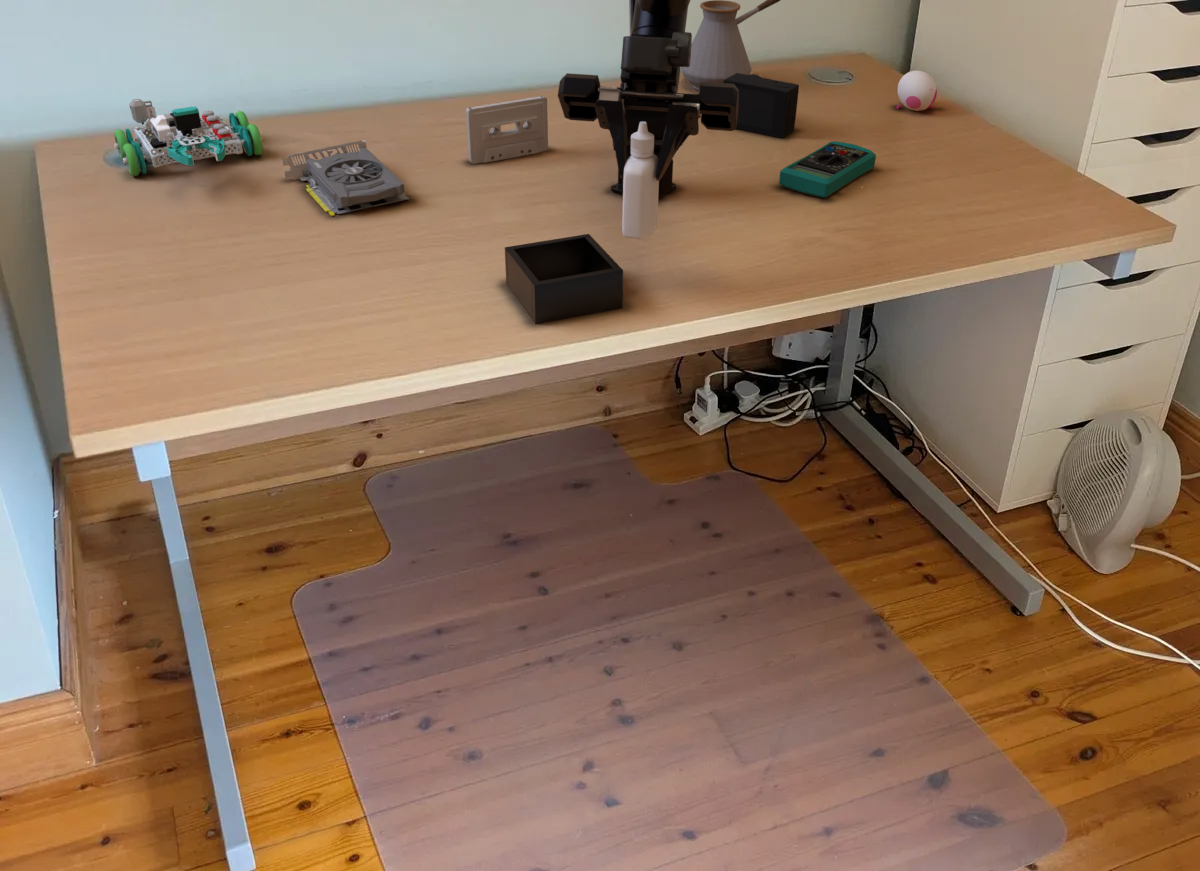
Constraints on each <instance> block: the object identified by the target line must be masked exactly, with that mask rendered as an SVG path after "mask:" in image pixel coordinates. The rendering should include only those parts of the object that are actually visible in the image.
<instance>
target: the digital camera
mask: <svg viewBox="0 0 1200 871" xmlns="http://www.w3.org/2000/svg"><path fill="white" fill-rule="evenodd" d="M724 83H729V84H734V85H735V86H736V88H737V89H738V117H737V126H736V130H741V131H747V132H751V133H756V134H762V135H766V136H770V137H775V138H781V139H784V138H785V137H787V136H789V134H791V133H793V132H794V131H795V126H796V118H797V111H798V110H797V108H798V100H799V90H800V84H798V83H793V82H787V81H782V80H777V79H771V78H767V77H762V76H760V75H759V74H755V73H750V75H745V74H740V73H736V74H734V75H732V76H730V77H728V78H727V79H725V80H724Z"/></svg>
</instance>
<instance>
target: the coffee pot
mask: <svg viewBox="0 0 1200 871" xmlns="http://www.w3.org/2000/svg"><path fill="white" fill-rule="evenodd" d="M780 1H781V0H764V1H763V2H762V3H760V4H758V5H757V6H756V7H754V8H753V9H751V10H749V11H747V12H746V13H744V14H741V15H740V16H738V17H737V15H738V11H739V10H740V9H741V4H740V3H738V2H736V1H731V0H706V1H702V2H701V3H700V5H699V7H700V9H702V15H703V19H702V20H701V22H700V25H699V27H698V29H697V32H696V34H695V36H694V38H693V39H692V44H691V58H690V66H689V67H681V68H680V70H681V72H682V74H683V77H684V78H685V80H686V81H687V82H688V83H689V84H691V87H692V88H694V89H695V90H698V91H700V85H701V82H713V83H724V80H725V79H727V78H728V77H730V76H732V75H734V74H736V73H740V74H745V75H751V74H752V73H751V72H752V66H751V63H750V60H749V56H748V54H747V50H746V47H745V45H744V41H743V38H742V35H741V32H740V29H739V26H738V25H740V24H741V23H743V22H744V21H747V20H748V19H749V18H752V16H754V15H755V14H757V13H759V12H761V11H764V10H765V9H767V8H769V7H771V6H773V5H775V4H777V3H779V2H780Z"/></svg>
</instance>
